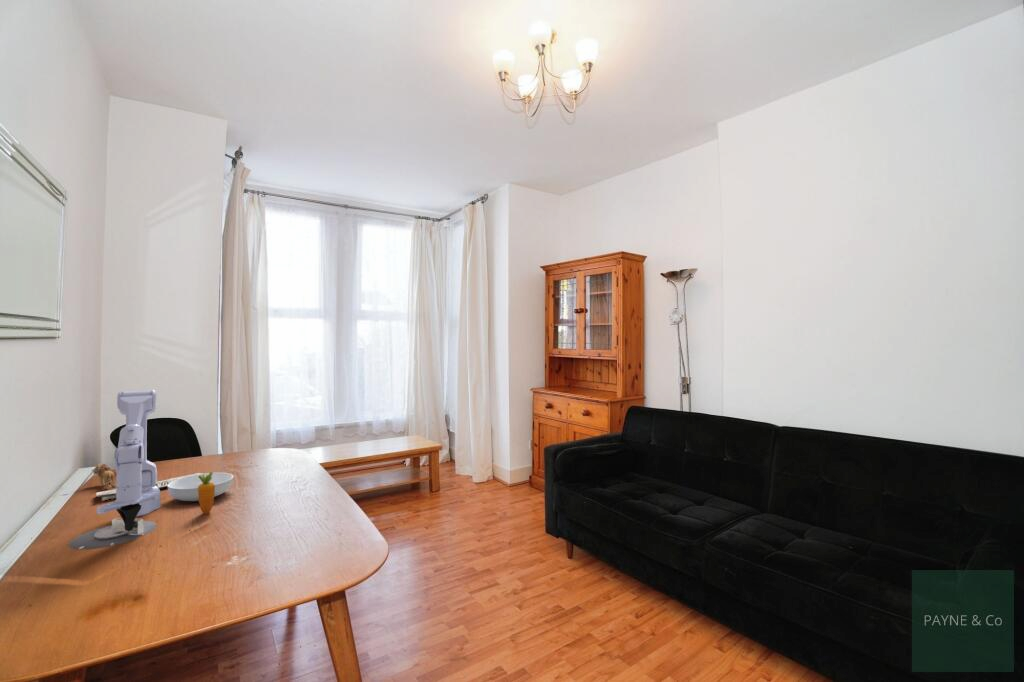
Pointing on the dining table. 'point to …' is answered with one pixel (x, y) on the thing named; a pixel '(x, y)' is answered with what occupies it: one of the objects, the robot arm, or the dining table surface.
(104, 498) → the piano keyboard
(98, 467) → the lion figurine
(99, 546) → the dial plate
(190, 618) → the dining table surface
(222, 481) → the serving bowl
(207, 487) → the carrot
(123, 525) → the grey bar on dome
